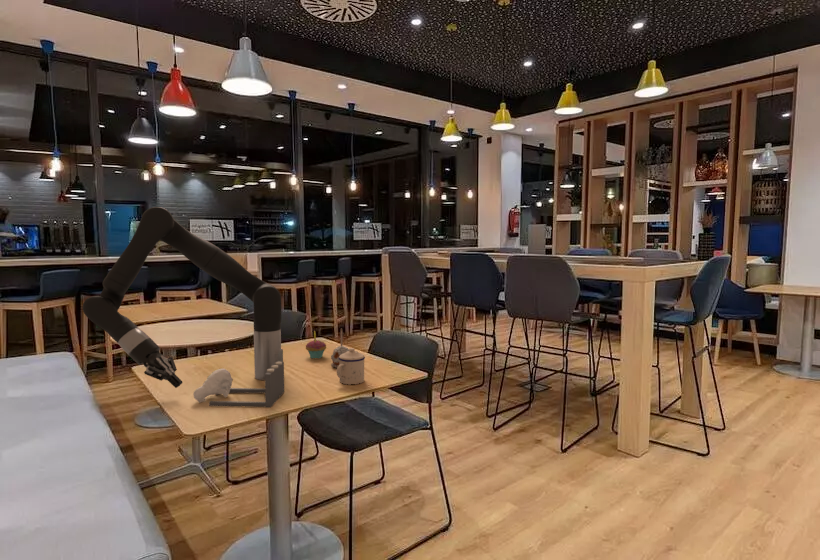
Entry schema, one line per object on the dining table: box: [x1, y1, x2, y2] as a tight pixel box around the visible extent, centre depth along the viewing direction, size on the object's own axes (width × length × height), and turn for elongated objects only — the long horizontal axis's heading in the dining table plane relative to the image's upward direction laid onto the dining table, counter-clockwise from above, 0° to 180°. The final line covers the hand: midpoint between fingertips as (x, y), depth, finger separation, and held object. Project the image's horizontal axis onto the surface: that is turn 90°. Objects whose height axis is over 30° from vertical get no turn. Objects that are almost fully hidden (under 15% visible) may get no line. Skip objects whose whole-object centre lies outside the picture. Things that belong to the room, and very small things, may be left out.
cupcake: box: [305, 330, 327, 359], centre depth 193 cm, size 9×8×12 cm
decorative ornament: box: [330, 328, 350, 368], centre depth 180 cm, size 8×8×15 cm
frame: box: [208, 361, 285, 409], centre depth 143 cm, size 19×14×11 cm
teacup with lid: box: [336, 347, 366, 386], centre depth 160 cm, size 12×9×12 cm
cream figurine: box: [192, 368, 234, 404], centre depth 143 cm, size 6×8×12 cm
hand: (179, 385), depth 143 cm, fingers closed
